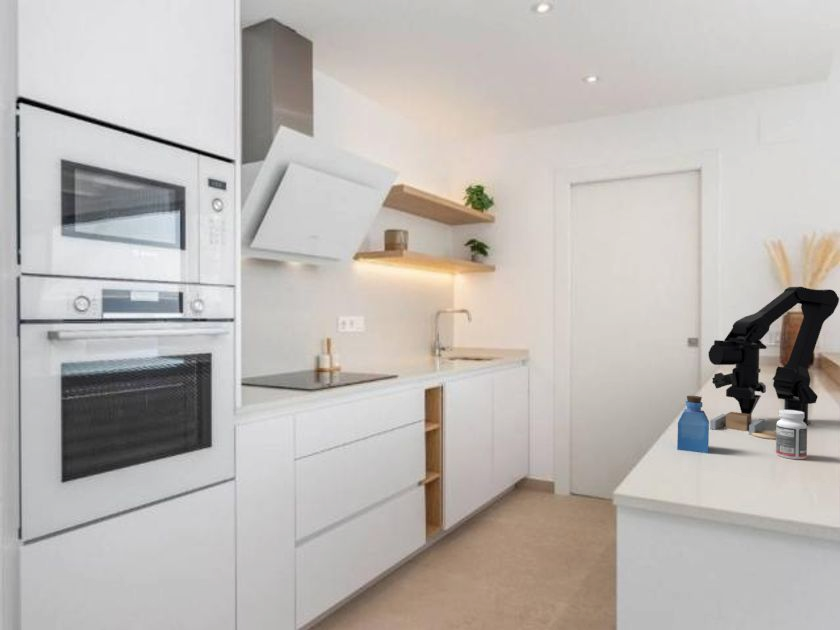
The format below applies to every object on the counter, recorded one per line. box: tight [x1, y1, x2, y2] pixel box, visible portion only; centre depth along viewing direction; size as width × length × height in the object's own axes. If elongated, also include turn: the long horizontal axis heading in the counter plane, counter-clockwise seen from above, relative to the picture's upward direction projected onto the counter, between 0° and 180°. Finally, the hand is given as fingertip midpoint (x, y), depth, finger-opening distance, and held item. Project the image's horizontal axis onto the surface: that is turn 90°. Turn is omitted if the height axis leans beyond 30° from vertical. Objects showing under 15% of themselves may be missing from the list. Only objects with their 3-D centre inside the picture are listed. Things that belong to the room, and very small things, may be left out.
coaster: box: [750, 429, 776, 441], centre depth 148 cm, size 8×8×1 cm
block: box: [725, 411, 753, 432], centre depth 157 cm, size 5×5×4 cm
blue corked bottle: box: [676, 395, 710, 454], centre depth 134 cm, size 6×6×12 cm
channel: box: [709, 413, 766, 436], centre depth 156 cm, size 12×10×2 cm
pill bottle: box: [775, 409, 808, 460], centre depth 128 cm, size 6×6×10 cm
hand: (745, 420), depth 163 cm, fingers closed
